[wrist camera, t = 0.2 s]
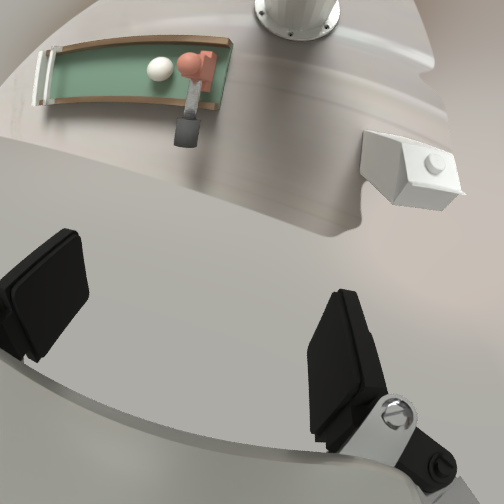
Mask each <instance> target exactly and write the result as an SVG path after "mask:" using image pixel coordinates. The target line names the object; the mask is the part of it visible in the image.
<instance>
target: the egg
mask: <svg viewBox="0 0 504 504" xmlns="http://www.w3.org/2000/svg"><path fill="white" fill-rule="evenodd" d="M172 73H173V63H172V62H171V60H170V59H168V58H166V57H157V58H155V59H153V60H152V61H151V62H150V63H149V64H148V67H147V74H148V76H149V78H150V79H152V80H154V81H164V80H166V79H168V78H169V77H170V76H171V74H172Z"/></svg>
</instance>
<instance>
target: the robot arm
mask: <svg viewBox="0 0 504 504" xmlns="http://www.w3.org/2000/svg"><path fill="white" fill-rule="evenodd" d="M254 6H255V12H256V15H257V17H258V19H259V21H260V22H261V23H262V25H263V26H264V27H265V28H266V29H268V30H269V31H270V32H272V33H273V34H275V35H277V36H279V37H282V38H285V39H289V40H294V41H310V40H315V39H318V38H320V37H323V36H324V35H326V34H328V33H329V32H330V31H331V30H332V29H333V28H334V27H335V25H336V24H337V22H338V20H339V17H340V5H339V2H338V0H255V3H254ZM261 14H264V15H263V16H261ZM324 27H327V29H325V28H324ZM289 34H292V36H289ZM88 298H89V288H88V282H87V277H86V271H85V264H84V258H83V250H82V242H81V238H80V236H79V235H78V232H76V231H74V230H70V229H66V228H64V229H62V230H60V231H59V232H58V233H56V234H55V235H54V236H52V237H51V238H50V239H48V240H47V241H46V242H45V243H43V244H42V245H41V246H39V247H38V248H37V249H36V250H34V251H33V252H32V253H31V254H30V255H28V256H27V257H26V258H25V259H24V260H22V261H21V262H20V263H19V264H18V265H16V266H15V267H14V268H13V269H12V270H11V271H10V272H9V273H7V274H6V275H5V276H4V277H3V278H2V279H1V280H0V504H480V503H479V502H478V500H477V499H476V498H475V496H474V495H473V493H472V492H471V490H470V489H469V488H468V486H467V485H466V483H465V482H464V481H463V479H462V478H461V476H459V477H458V478H456V473H457V465H456V460H455V459H454V457H453V455H452V454H451V453H450V452H449V451H447V450H446V449H445V448H443V447H442V446H441V445H440V444H438V443H437V442H435V441H434V440H433V439H432V438H430V437H429V436H428V435H426V434H425V433H424V432H422V431H421V430H420V429H419V428H417V427H416V425H417V421H418V417H417V412H416V409H415V407H414V406H413V404H412V403H411V402H410V401H409V400H408V399H407V398H405V397H403V396H401V395H398V394H388V391H387V387H386V383H385V379H384V375H383V372H382V368H381V364H380V361H379V357H378V353H377V350H376V347H375V343H374V340H373V337H372V335H371V333H370V332H369V330H368V327H367V324H366V320H365V317H364V314H363V311H362V308H361V305H360V302H359V299H358V296H357V293H356V292H355V291H350V290H345V289H339V290H338V292H333V293H332V295H331V297H330V299H329V302H328V304H327V306H326V309H325V311H324V313H323V316H322V317H321V320H320V322H319V324H318V326H317V329H316V331H315V333H314V335H313V337H312V339H311V341H310V343H309V346H308V350H307V361H308V381H309V403H310V404H309V406H310V432H311V433H312V434H315V442H326V449H327V450H328V451H327V452H326V453H321V452H310V451H298V450H286V449H277V448H269V447H261V446H255V445H248V444H242V443H235V442H230V441H225V440H219V439H214V438H210V437H205V436H201V435H197V434H192V433H189V432H184V431H181V430H177V429H174V428H170V427H166V426H163V425H160V424H157V423H154V422H151V421H147V420H144V419H141V418H138V417H135V416H133V415H130V414H127V413H124V412H122V411H119V410H117V409H114V408H112V407H109V406H107V405H104V404H102V403H99V402H97V401H95V400H93V399H90V398H88V397H86V396H84V395H82V394H79V393H77V392H75V391H73V390H71V389H69V388H67V387H65V386H63V385H61V384H59V383H57V382H55V381H54V380H52V379H50V378H48V377H46V376H44V375H42V374H41V373H39V372H37V371H36V370H34V369H32V368H30V367H29V366H27V365H26V364H24V358H23V357H24V355H25V354H26V355H27V357H28V358H29V359H31V360H33V361H34V362H36V363H38V362H39V360H40V359H41V357H44V356H45V355H46V354H47V353H48V351H49V350H50V348H51V347H52V346H53V344H54V343H55V342H56V340H57V339H58V338H59V336H60V335H61V333H62V332H63V331H64V329H65V328H66V327H67V325H68V324H69V323H70V322H71V320H72V319H73V318H74V316H75V315H76V314H77V313H78V311H79V310H80V309H81V307H82V306H83V305H84V304H85V302H86V301H87V300H88Z"/></svg>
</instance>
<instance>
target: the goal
mask: <svg viewBox="0 0 504 504" xmlns="http://www.w3.org/2000/svg"><path fill="white" fill-rule="evenodd" d="M62 49H63V47H61V46H52V47H51V51H50V56H46V51H40V52H39V55H38V60H37V66H36V72H35V79H34V87H33V97H32V106H38V105H39V100H43V105H50V104H54V103H55V99H49V98H50V89H51V81H52V74H53V68H54V62H55V55H56V52H62Z"/></svg>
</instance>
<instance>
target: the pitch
mask: <svg viewBox="0 0 504 504" xmlns="http://www.w3.org/2000/svg"><path fill="white" fill-rule="evenodd" d="M232 47H233V43H232V42H231V40H230V39H229V38H224V37H212V36H196V35H149V36H132V37H121V38H111V39H103V40H96V41H90V42H84V43H79V44H73V45H69V46H64V47H63V49H62V52H56V55H55V62H54V68H53V74H52V81H51V89H50V98H49V99H55V103H54V104H60V103H78V102H133V103H152V104H166V105H177V106H185V103H186V97H187V92H188V86H189V81H190V79H189V78H186V77H182V76H181V73H180V72H179V71H178V69H177V60H178V58H179V57H180V56H181V55H183V54H185V53H189V52H192V53H195V54H200V53H201V51H212V52H214V53H215V54H216V55H217V60H216V66H215V70H214V75H213V80H212V83H211V88H210V92H202V91H200V96H199V101H198V107H197V108H203V109H211V110H219V109H220V104H221V98H222V93H223V89H224V84H225V79H226V74H227V70H228V65H229V61H230V56H231V52H232ZM50 51H51V50H47V51H46V56H50ZM157 57H166V58H168V59H170V60H171V62H172V63H173V73H172V74H171V76H170V77H169V78H168V79H166V80H164V81H154V80H152V79H150V78H149V76H148V74H147V67H148V64H149V63H150V62H151V61H152V60H153V59H155V58H157ZM39 105H43V100H39Z"/></svg>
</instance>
